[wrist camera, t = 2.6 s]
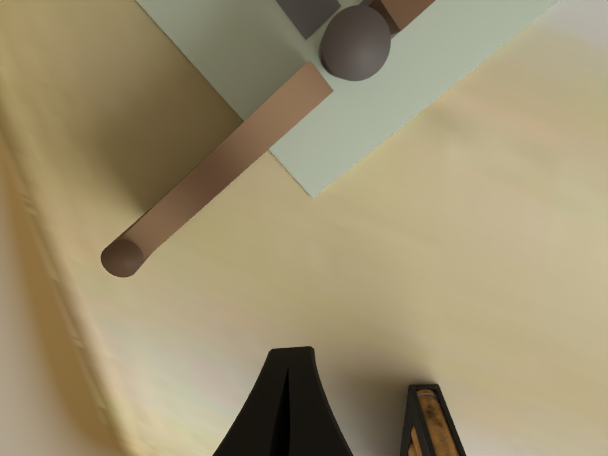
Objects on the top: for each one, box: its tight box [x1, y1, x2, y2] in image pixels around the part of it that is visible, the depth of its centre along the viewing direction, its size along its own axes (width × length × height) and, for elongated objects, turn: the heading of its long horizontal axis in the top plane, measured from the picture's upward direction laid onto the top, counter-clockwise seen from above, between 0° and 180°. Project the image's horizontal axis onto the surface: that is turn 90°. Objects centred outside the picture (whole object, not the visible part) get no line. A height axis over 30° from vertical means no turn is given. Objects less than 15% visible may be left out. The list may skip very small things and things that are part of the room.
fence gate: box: [101, 60, 334, 277], centre depth 14 cm, size 11×1×4 cm, turn 131°
